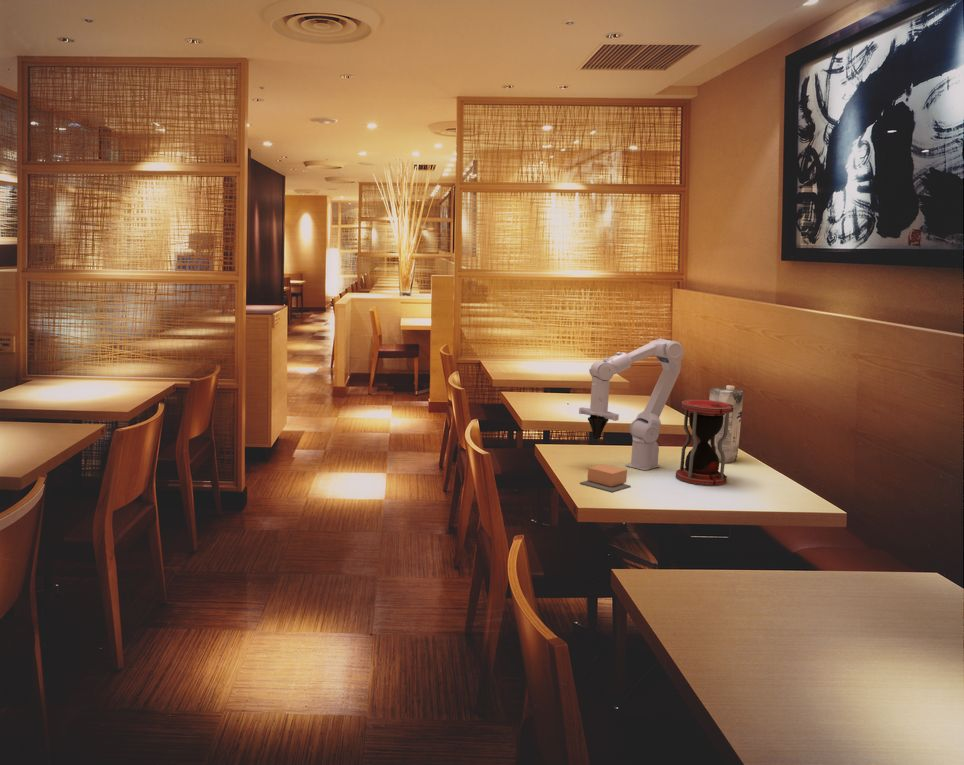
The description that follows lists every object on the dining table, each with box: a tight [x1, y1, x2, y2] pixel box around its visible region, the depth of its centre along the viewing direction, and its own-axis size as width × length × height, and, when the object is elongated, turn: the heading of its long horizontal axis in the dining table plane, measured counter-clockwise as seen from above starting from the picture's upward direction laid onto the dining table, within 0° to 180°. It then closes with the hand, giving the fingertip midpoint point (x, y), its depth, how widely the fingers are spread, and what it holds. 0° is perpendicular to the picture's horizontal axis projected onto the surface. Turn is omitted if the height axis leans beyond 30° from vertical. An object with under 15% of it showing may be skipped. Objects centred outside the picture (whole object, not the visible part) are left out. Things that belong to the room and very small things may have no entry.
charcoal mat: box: [579, 479, 632, 493], centre depth 261 cm, size 10×12×1 cm
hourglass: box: [675, 399, 733, 487], centre depth 272 cm, size 16×16×25 cm
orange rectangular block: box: [587, 463, 628, 487], centre depth 262 cm, size 4×9×8 cm
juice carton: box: [708, 385, 744, 464], centre depth 300 cm, size 9×10×27 cm
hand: (596, 438), depth 279 cm, fingers closed
